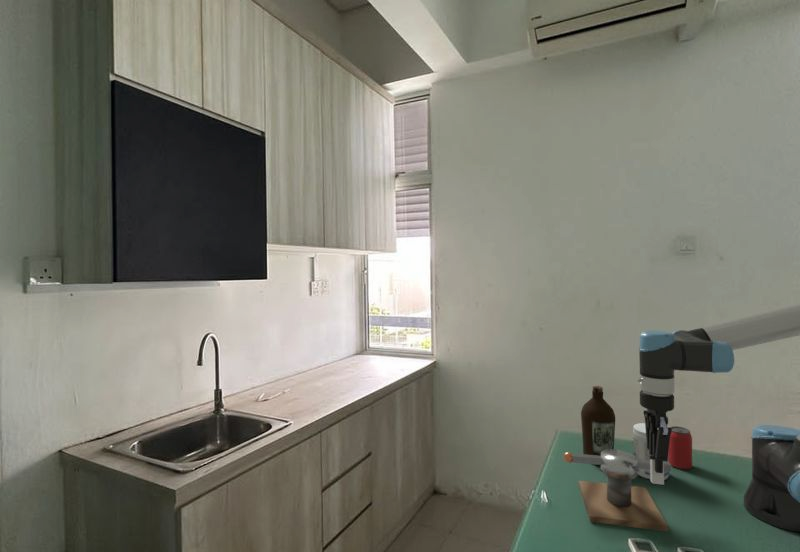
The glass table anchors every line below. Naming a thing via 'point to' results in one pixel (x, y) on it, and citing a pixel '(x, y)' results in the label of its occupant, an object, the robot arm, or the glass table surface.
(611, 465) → the disc with handle bar
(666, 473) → the supplement tub
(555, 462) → the glass table surface
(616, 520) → the square wooden board
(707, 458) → the glass table surface
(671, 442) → the beer can
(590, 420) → the olive oil
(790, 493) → the robot arm
